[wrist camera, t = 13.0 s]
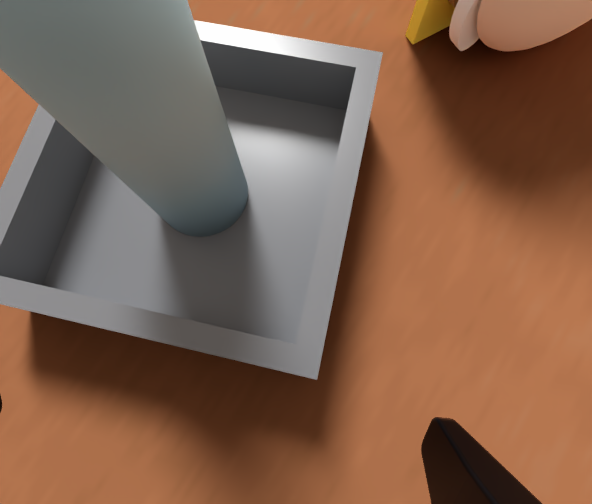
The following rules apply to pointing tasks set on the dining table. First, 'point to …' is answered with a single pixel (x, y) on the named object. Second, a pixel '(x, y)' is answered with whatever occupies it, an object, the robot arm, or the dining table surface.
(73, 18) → the pale blue tapered cylinder
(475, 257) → the dining table surface
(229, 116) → the bin
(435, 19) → the hamburger
